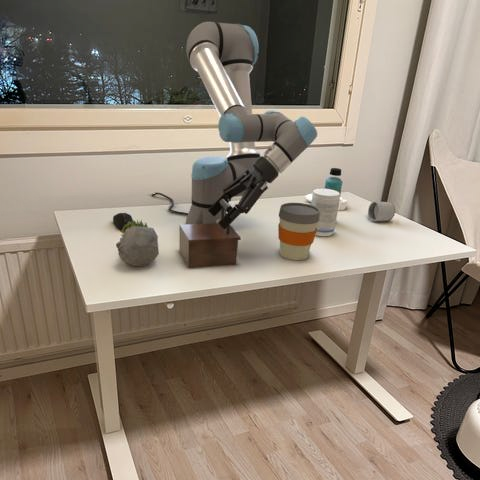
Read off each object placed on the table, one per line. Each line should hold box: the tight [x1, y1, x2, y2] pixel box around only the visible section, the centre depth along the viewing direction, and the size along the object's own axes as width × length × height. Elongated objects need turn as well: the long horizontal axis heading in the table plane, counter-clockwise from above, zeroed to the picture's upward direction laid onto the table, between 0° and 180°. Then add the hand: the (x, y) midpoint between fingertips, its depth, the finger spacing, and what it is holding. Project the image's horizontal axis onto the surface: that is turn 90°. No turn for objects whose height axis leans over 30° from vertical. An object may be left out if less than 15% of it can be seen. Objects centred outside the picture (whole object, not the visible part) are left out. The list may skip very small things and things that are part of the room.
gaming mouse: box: [112, 212, 133, 231], centre depth 162 cm, size 6×15×4 cm, turn 22°
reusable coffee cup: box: [277, 202, 320, 261], centre depth 148 cm, size 13×12×15 cm
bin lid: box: [179, 199, 242, 243], centre depth 139 cm, size 15×13×9 cm
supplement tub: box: [310, 188, 341, 237], centre depth 168 cm, size 10×10×15 cm
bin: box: [178, 227, 239, 269], centre depth 143 cm, size 15×13×8 cm
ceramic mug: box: [367, 200, 396, 222], centre depth 188 cm, size 11×8×8 cm
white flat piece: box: [304, 192, 348, 211], centre depth 202 cm, size 3×18×15 cm
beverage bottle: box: [324, 167, 343, 201], centre depth 178 cm, size 6×7×20 cm
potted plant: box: [115, 218, 160, 267], centre depth 137 cm, size 12×13×15 cm
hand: (215, 219), depth 139 cm, fingers open, 10 cm apart
